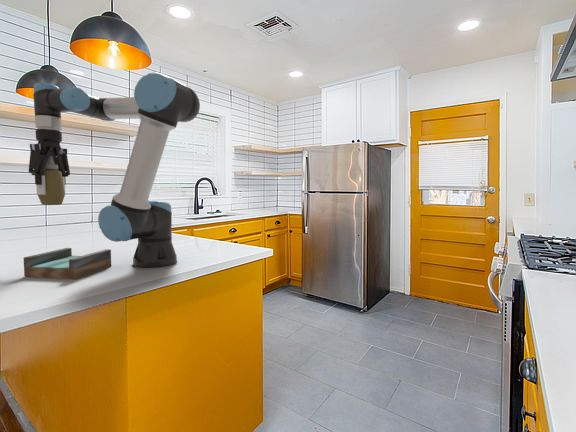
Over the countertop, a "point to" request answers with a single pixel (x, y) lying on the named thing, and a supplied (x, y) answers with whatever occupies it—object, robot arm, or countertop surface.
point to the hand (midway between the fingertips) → (51, 194)
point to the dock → (65, 264)
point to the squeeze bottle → (52, 184)
